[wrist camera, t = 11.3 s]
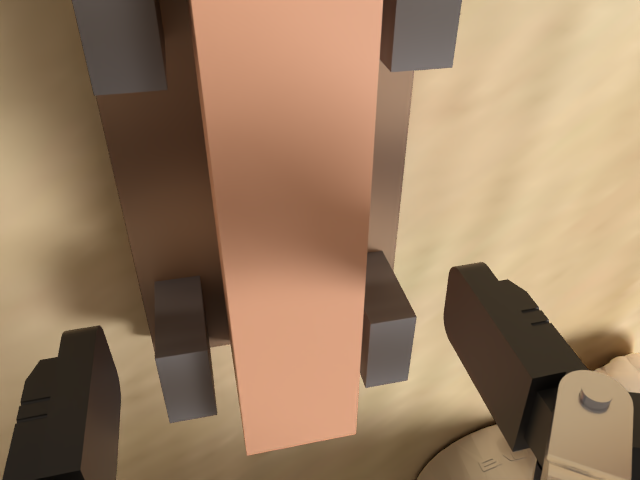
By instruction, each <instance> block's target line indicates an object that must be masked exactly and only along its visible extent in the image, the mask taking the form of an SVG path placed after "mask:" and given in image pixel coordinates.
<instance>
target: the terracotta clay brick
mask: <svg viewBox="0 0 640 480" xmlns="http://www.w3.org/2000/svg"><path fill="white" fill-rule="evenodd" d="M187 4H188V11H189V19H190V27H191V35H192V43H193V51H194V59H195V67H196V75H197V83H198V91H199V99H200V107H201V114H202V122H203V130H204V138H205V146H206V154H207V162H208V170H209V178H210V186H211V194H212V202H213V209H214V217H215V225H216V233H217V241H218V249H219V257H220V265H221V273H222V281H223V289H224V297H225V305H226V312H227V320H228V328H229V336H230V344H231V350H232V357H233V364H234V371H235V378H236V385H237V391H238V398H239V405H240V412H241V419H242V426H243V432H244V439H245V446H246V453H247V456H248V455H253V454H258V453H263V452H268V451H273V450H278V449H283V448H288V447H293V446H298V445H303V444H308V443H314V442H319V441H324V440H329V439H334V438H339V437H344V436H349V435H354V434H356V426H357V410H358V394H359V378H360V362H361V346H362V330H363V314H364V298H365V282H366V266H367V250H368V234H369V218H370V202H371V186H372V170H373V154H374V138H375V122H376V106H377V90H378V74H379V58H380V42H381V26H382V10H383V0H187Z"/></svg>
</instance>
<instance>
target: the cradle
mask: <svg viewBox="0 0 640 480" xmlns="http://www.w3.org/2000/svg"><path fill="white" fill-rule="evenodd" d="M72 3H73V7H74V11H75V16H76V20H77V24H78V29H79V33H80V37H81V41H82V46H83V50H84V54H85V59H86V63H87V67H88V72H89V76H90V80H91V85H92V89H93V93H94V96H96V99H97V103H98V107H99V112H100V116H101V120H102V125H103V129H104V133H105V138H106V142H107V146H108V151H109V155H110V159H111V164H112V168H113V173H114V177H115V181H116V186H117V190H118V194H119V199H120V203H121V207H122V212H123V216H124V220H125V225H126V229H127V233H128V238H129V242H130V247H131V251H132V255H133V260H134V264H135V268H136V273H137V277H138V281H139V286H140V290H141V294H142V299H143V303H144V308H145V312H146V316H147V321H148V325H149V329H150V334H151V338H152V342H153V347H154V351H155V361H156V365H157V370H158V374H159V378H160V383H161V387H162V391H163V396H164V400H165V404H166V409H167V413H168V417H169V421H170V423H174V422H179V421H185V420H190V419H196V418H201V417H207V416H213V415H217V408H216V399H215V389H214V380H213V371H212V362H211V352H210V347H216V346H222V345H228V344H230V336H229V328H228V320H227V312H226V305H225V297H224V289H223V281H222V273H221V265H220V257H219V249H218V241H217V233H216V225H215V217H214V209H213V202H212V194H211V186H210V178H209V170H208V162H207V154H206V146H205V138H204V130H203V122H202V114H201V107H200V99H199V91H198V83H197V75H196V67H195V59H194V51H193V43H192V35H191V27H190V19H189V11H188V4H187V0H72ZM461 3H462V0H383V10H382V26H381V42H380V58H379V74H378V90H377V106H376V122H375V138H374V154H373V170H372V186H371V202H370V218H369V234H368V250H367V266H366V282H365V298H364V314H363V330H362V346H361V362H360V374H361V377H362V379H363V382H364V385H365V388H368V387H373V386H379V385H384V384H390V383H395V382H401V381H406V380H408V373H409V366H410V359H411V352H412V345H413V338H414V331H415V324H416V315H415V313H414V311H413V309H412V307H411V305H410V303H409V301H408V299H407V297H406V295H405V294H404V292H403V290H402V288H401V286H400V284H399V282H398V280H397V278H396V276H395V274H394V272H393V268H394V259H395V249H396V240H397V230H398V221H399V211H400V201H401V192H402V182H403V173H404V163H405V153H406V144H407V134H408V125H409V115H410V105H411V96H412V86H413V77H414V70H427V69H439V68H452V65H453V58H454V51H455V44H456V37H457V30H458V24H459V17H460V10H461Z"/></svg>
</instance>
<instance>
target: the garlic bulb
mask: <svg viewBox="0 0 640 480" xmlns="http://www.w3.org/2000/svg"><path fill="white" fill-rule="evenodd" d="M595 372H599V373H602V374H605V375H607V376H609V377H611V378H613V379H614V380H616V381H617V382H619V383H620V384H621V385H622V386H623V387H624V388H625V389H626V390H627V391H628V392H634V393H640V353H631V354H628V355H626V356H618V357H616V358H613V359H612V360H611V361H610V363H608V364H606V365H605V366H603V367H601V368H597V369H596V370H595Z"/></svg>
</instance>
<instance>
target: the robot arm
mask: <svg viewBox="0 0 640 480" xmlns="http://www.w3.org/2000/svg"><path fill="white" fill-rule="evenodd" d="M444 326H445V330H446V333H447V336H448V339H449V341H450V343H451V344H452V346H453V348H454V350H455V351H456V353H457V355H458V357H459V358H460V360H461V362H462V364H463V365H464V367H465V369H466V371H467V372H468V374H469V376H470V378H471V380H472V381H473V383H474V385H475V387H476V388H477V390H478V392H479V394H480V395H481V397H482V399H483V401H484V402H485V404H486V406H487V408H488V410H489V411H490V413H491V415H492V417H493V418H494V420H495V422H496V424H497V425H493V426H489V427H486V428H484V429H481V430H479V431H476V432H473V433H471V434H469V435H467V436H465V437H463V438H461V439H459V440H458V441H456V442H454V443H452V444H451V445H450V446H448V447H447V448H445V449H444V450H442V451H441V452H440V453H438V454H437V455H436V456H435V457H434V458H433V459H432V460H431V461H430V462H429V463H428V464H427V465H426V466H425V468H424V469H423V470H422V471H421V473H420V474H419V476H418V478H417V480H640V393H634V392H628V391H627V390H626V389H625V388H624V387H623V386H622V385H621V384H620V383H619V382H617V381H616V380H614V379H613V378H611V377H609V376H607V375H605V374H602V373H599V372H595V371H590V370H588V369H587V368H586V366H585V365H584V364H583V363H582V361H581V360H580V359H579V358H578V356H577V355H576V354H575V352H574V351H573V350H572V349H571V347H570V346H569V345H568V344H567V342H566V341H565V340H564V339H563V337H562V336H561V335H560V333H559V332H558V331H557V330H556V328H555V327H554V326H553V325H552V323H549V320H548V318H547V317H546V316H545V315H544V313H543V312H542V311H540V310H539V307H538V306H537V304H536V303H535V302H534V301H533V299H532V298H531V297H530V296H529V294H528V293H527V292H526V291H525V290H523V289H522V288H520V287H518V286H517V285H515V284H514V283H512V282H511V281H509V280H508V279H507V280H502V281H498V279H497V278H496V277H495V275H494V274H493V273H492V271H491V270H490V269H489V267H488V266H487V265H486V264H485V263H483V262H480V263H474V264H468V265H462V266H456V267H452V268H451V269H450V272H449V277H448V285H447V292H446V300H445V308H444ZM120 406H121V392H120V383H119V378H118V374H117V370H116V367H115V364H114V361H113V358H112V355H111V352H110V349H109V346H108V343H107V340H106V337H105V334H104V331H103V329H102V327H101V326H93V327H87V328H81V329H75V330H69V331H64V332H63V334H62V337H61V342H60V348H59V353H58V357H55V358H49V359H44V360H40V361H39V363H38V364H37V365H36V367H35V368H34V370H33V371H32V372H31V374H30V375H29V376H28V378H27V379H26V381H25V385H24V389H23V393H22V398H21V406H19V411H18V415H17V419H16V420H17V424H15V428H14V432H13V436H12V441H11V445H10V449H9V454H8V458H7V462H6V466H5V471H4V475H3V479H2V480H116V473H117V456H118V440H119V423H120Z"/></svg>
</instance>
